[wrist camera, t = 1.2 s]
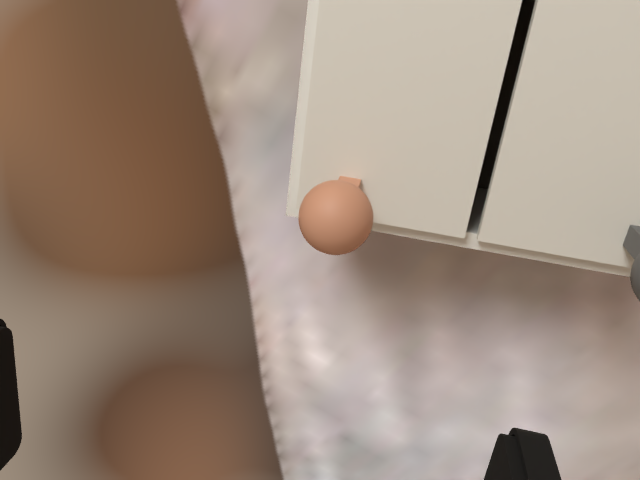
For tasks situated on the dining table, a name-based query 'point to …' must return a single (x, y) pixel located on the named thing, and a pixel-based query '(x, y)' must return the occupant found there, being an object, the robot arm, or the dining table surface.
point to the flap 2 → (572, 138)
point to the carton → (487, 165)
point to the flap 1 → (399, 115)
